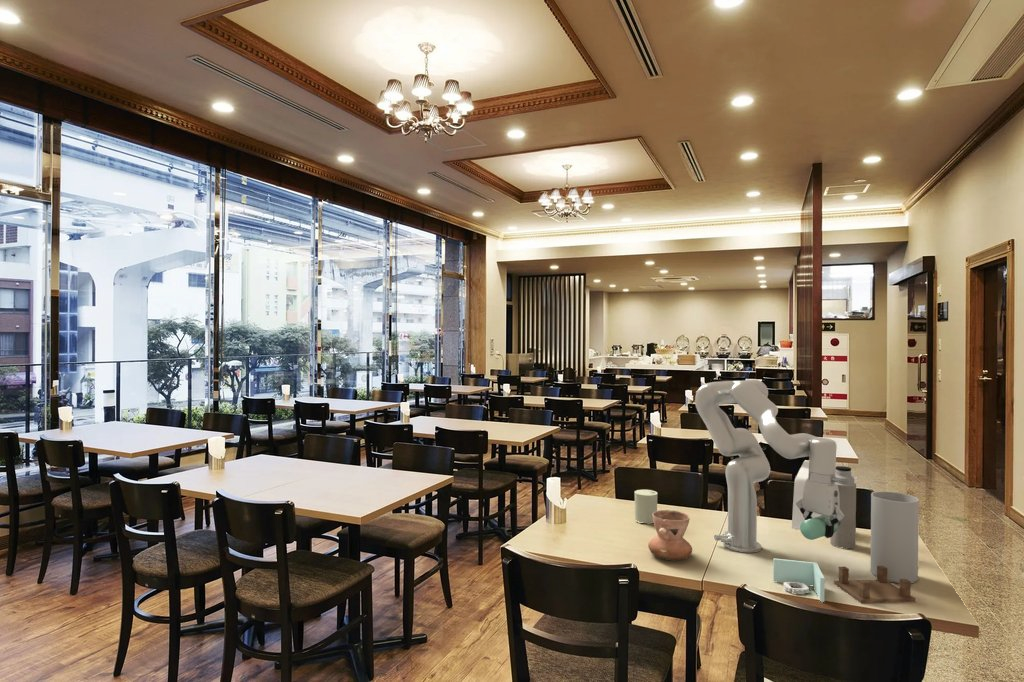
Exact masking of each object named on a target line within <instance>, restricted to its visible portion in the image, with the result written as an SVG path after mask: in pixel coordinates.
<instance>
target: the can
mask: <svg viewBox="0 0 1024 682" xmlns="http://www.w3.org/2000/svg"><path fill="white" fill-rule="evenodd" d="M655 511H658V492H657V491H655V490H653V489H637V490H634V518H633V520H634V519H635V520H637V521H639V522H643V523H654V522H653V517H652V514H653V512H655Z"/></svg>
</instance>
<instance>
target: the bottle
mask: <svg viewBox="0 0 1024 682" xmlns="http://www.w3.org/2000/svg"><path fill="white" fill-rule="evenodd" d="M835 518H836V517H835ZM826 525H828V523H827V520H826V517H825V516H824V515H821V516H818V517H815V518H811V519H808V520H804V521H803V522H802V523H801V525H800V533H801V534H802V537H804V538H805V539H807V540H811V541H813V540H817V539H820V538H823V537H825V532H826ZM839 525H841V521H839V522H838V523H836V524H835V525H834V533H835V532H836V531H837V529H838V526H839Z"/></svg>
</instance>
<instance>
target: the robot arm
mask: <svg viewBox="0 0 1024 682" xmlns="http://www.w3.org/2000/svg"><path fill="white" fill-rule="evenodd" d="M768 396H769V390H768V387H767V385H766V384H765V383H764V382H763V381H761V380H758V379H749V380H748V379H747V380H746V379H744V380H725V381H723V380H722V381H712V382H707V383H704V384H702V385H701V386H700V387H698V389H697V391H696V394H695V397H694V401H695V402H694V404H695V409H696V411H697V413H698V414H699V416H700V418H701V420H702V421H703V423H704V424H705V426H706V429H707V431H708V433H709V435H710V437H711V439H712V440H713V443H714V445H715V447H716V448H717V450H718V452H719V454H721V455H722V456H724V457H733V456H739V457H735V458H733V459H732V460H730V461H729V462H728V463H727V465H726V467H725V478H726V479H725V480H726V484H727V531H725V532H724V533H723V534H715V535H714V536H713V537H714V538H713V539H714V540H715V541H719V542H721V543H722V544H723V546H724V547H725V548H726V547H727V548H726V549H728V550H731V551H734V552H738V551H739V552H740V553H757V552H760V551H761V550H762V545H761V543H760V542H758V541H757V537H758V536H757V532H758V531H757V525H758V523H757V522H758V520H757V519H758V515H757V514H758V512H757V511H758V510H757V509H758V508H757V507H758V503H757V499H758V498H757V493H756V490H755V487H754V484H755V483H759V482H763V481H765V480H766V479H768V478H769V476H770V474H771V466H770V462H769V460H768V458H767V457H766V454H765V453H764V451H763V449H762V447H761V445H760V443H759V441H758V440H757V437H755V435H754V434H753V433H752V432H751V431H750V430H749V429H747V428H743V427H736V428H735V427H734V425H733V424H732V422H731V420H730V418H729V416H728V414H727V413H726V412H725V411H724V410H723V409H722V408H721V407H720V406H721V405H728V404H737V405H738V406H739V407H740V408H742V410H743V411H745V412H746V414H747V415H748V416H749V417H751V418H752V419H753V420H754V421H755V422H756V423H757V424H758V428H759V430H760V434H761V436H762V437H763V439H764V441H765V442H766V443H767V444H768V445H769V446H770V447H771V448H772V449H773V451H775V452H776V453H777V454H779V455H780V456H781V457H783V458H785V459H788V460H794V459H798V458H805V457H809V458H808V461H809V473H808V479H806V482H805V486H804V491H803V498H802V499H801V500H799V501H798V502H797V503H796V505H797V506H798V508H799V509H800V511H801V513H802V514H803V517H804V518H805V520H808V519H811V518H813V517H811V515H812V513H813V512H814V513H818V514H821V515H824V516H825V517H826V520H827V523H828V525H826V532H825V536H824V537H825V538H827V539H829V538H830V537H832V536H833V534H834V525H835V524H836V523H838V522H839V521H841V520H842V519H844V518H845V515H844V514H843V513H842V511H841V510H840V500H839V490H838V485H837V484H835V482H839V478H837V477H836V466H837V465H836V464H837V449H838V447H837V446H838V445H837V442H836V441H835V440H833V439H831V438H825V437H818V436H816V435H813V434H809V433H804V432H802V433H801V432H800V433H795V434H794V433H793V434H789V433H788V432H787V431H786V430H785V429H784V428H783V427H782V425H780V424H779V423H778V421H777V418H776V417H777V415H778V413H779V408H778V406H777V405H776V404H775V403H774V402H773V401H771V400H770V399H769V398H768ZM719 405H720V406H719ZM834 515H838V516H837V517H836V518H835V517H834Z"/></svg>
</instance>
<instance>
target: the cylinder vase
mask: <svg viewBox="0 0 1024 682" xmlns="http://www.w3.org/2000/svg"><path fill="white" fill-rule="evenodd" d="M919 500H920V499H919V498H918V497H916V496H913V495H911V494H906V493H901V492H894V491H872V492H871V493H870V572H871V574H872V575H874V576H875V577H876V578H877V566H885V567H886V568H887V581H888V582H890V583H892V584H893V583H894V584H900V579H907V580H909V581H911V584H914V583H916V582H917V581H918V580H919V521H920V520H919V519H920V518H919V516H920V515H919V514H920V513H919V510H920V509H919V507H920V506H919V505H920V503H919Z"/></svg>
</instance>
